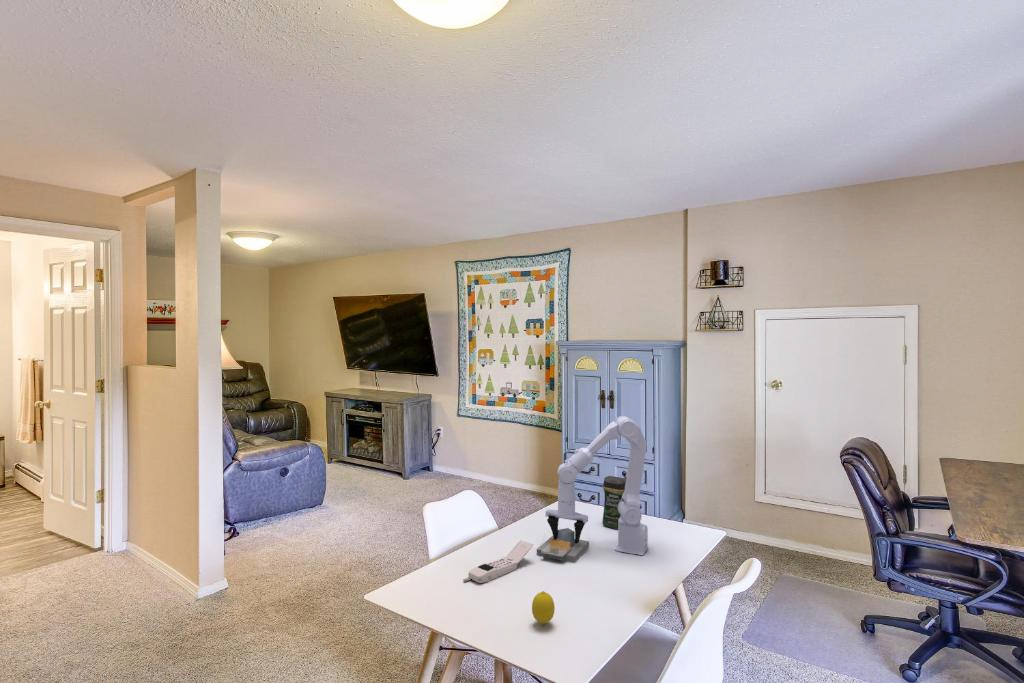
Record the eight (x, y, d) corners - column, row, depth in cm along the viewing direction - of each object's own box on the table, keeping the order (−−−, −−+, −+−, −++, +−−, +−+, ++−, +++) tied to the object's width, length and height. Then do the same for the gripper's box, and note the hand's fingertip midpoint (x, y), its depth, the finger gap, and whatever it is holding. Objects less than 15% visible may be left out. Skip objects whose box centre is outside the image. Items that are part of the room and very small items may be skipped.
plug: (574, 549, 177) (574, 531, 177) (564, 551, 175) (564, 533, 175) (568, 545, 181) (568, 527, 181) (557, 547, 179) (557, 529, 179)
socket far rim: (561, 543, 182) (561, 538, 182) (554, 549, 177) (554, 543, 177) (551, 542, 184) (551, 536, 184) (545, 548, 178) (545, 542, 178)
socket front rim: (589, 547, 179) (589, 541, 179) (587, 548, 178) (587, 542, 178) (553, 540, 185) (553, 534, 185) (551, 542, 184) (551, 536, 184)
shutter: (571, 548, 172) (571, 542, 172) (563, 557, 165) (563, 550, 165) (550, 544, 175) (550, 538, 175) (541, 552, 168) (541, 546, 168)
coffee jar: (599, 526, 200) (599, 477, 200) (608, 520, 206) (608, 473, 206) (623, 531, 194) (624, 481, 194) (632, 525, 201) (632, 476, 201)
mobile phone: (535, 544, 167) (475, 567, 149) (535, 563, 167) (475, 588, 149) (521, 539, 171) (461, 561, 153) (521, 558, 171) (461, 582, 153)
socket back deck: (581, 555, 173) (581, 548, 173) (574, 562, 166) (574, 556, 166) (545, 548, 178) (545, 542, 178) (536, 555, 172) (536, 549, 172)
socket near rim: (587, 548, 178) (587, 542, 178) (581, 555, 173) (581, 548, 173) (577, 546, 180) (577, 540, 180) (571, 553, 174) (571, 547, 174)
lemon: (553, 618, 133) (553, 586, 133) (555, 630, 127) (555, 596, 127) (531, 618, 133) (531, 586, 133) (532, 630, 127) (532, 597, 127)
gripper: (591, 499, 179) (590, 540, 179) (551, 494, 185) (550, 533, 185) (584, 505, 172) (584, 547, 172) (543, 499, 179) (542, 539, 179)
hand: (566, 540), depth 178 cm, fingers open, 7 cm apart
